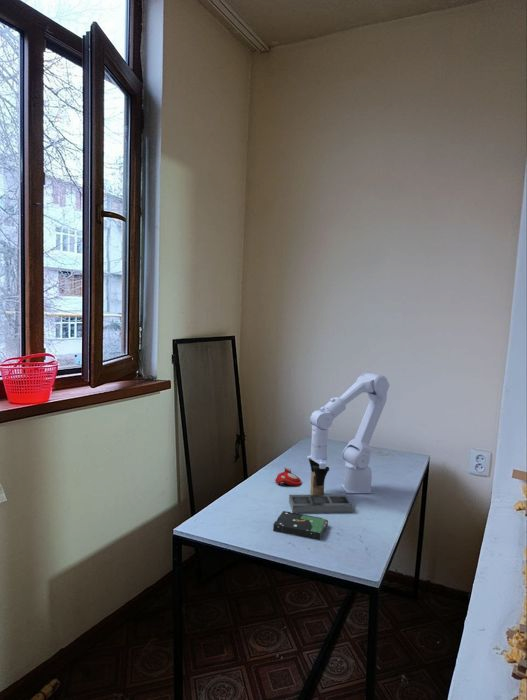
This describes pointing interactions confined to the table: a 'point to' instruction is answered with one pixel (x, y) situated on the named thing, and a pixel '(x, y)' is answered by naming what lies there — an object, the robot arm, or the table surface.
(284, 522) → the disk drive
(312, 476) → the walnut peg
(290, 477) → the tracker holder
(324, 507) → the rail
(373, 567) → the table surface
